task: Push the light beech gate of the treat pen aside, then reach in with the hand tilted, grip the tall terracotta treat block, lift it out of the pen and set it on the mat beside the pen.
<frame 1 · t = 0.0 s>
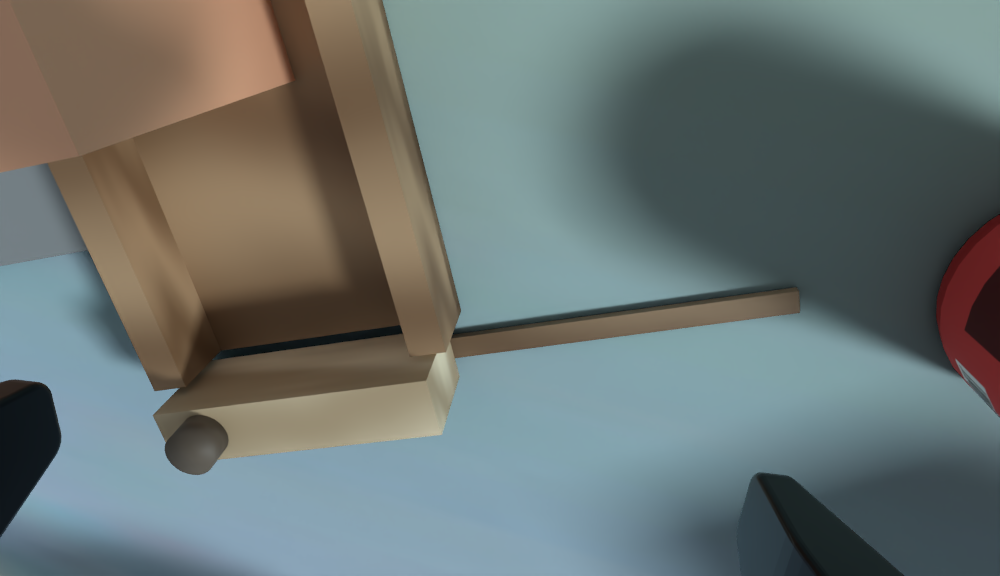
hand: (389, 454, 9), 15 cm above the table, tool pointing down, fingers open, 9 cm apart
treat block: (213, 26, 21), resting on treat pen
treat pen: (253, 122, 22), on the table
gate: (308, 403, 23), point 3 cm above the table, slide at 0.0 cm
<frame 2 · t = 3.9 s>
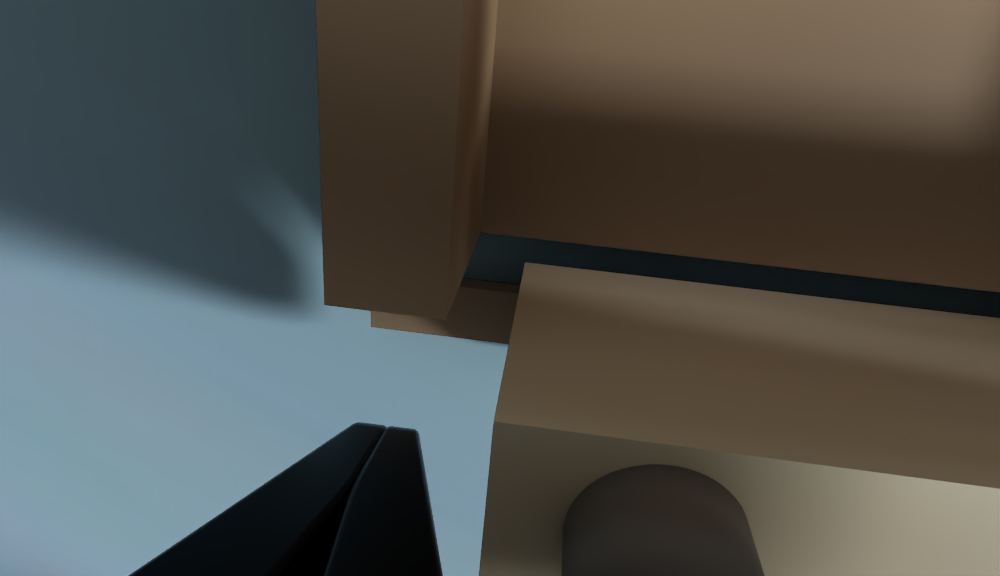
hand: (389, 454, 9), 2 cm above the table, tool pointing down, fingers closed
gate: (960, 491, 7), point 3 cm above the table, slide at 1.3 cm, touching gripper
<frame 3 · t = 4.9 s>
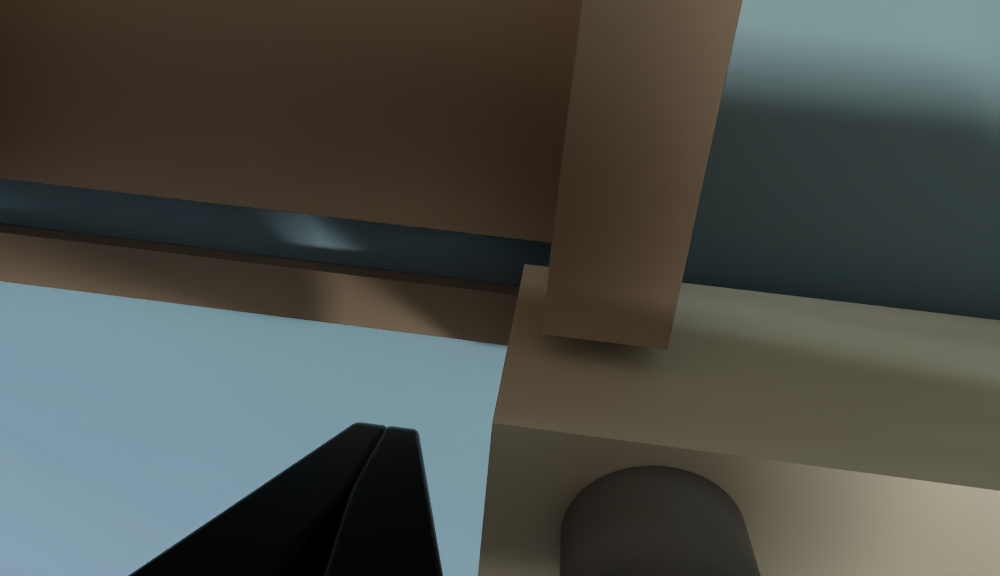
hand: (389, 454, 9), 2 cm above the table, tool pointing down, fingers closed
gate: (956, 492, 7), point 3 cm above the table, slide at 8.4 cm, touching gripper
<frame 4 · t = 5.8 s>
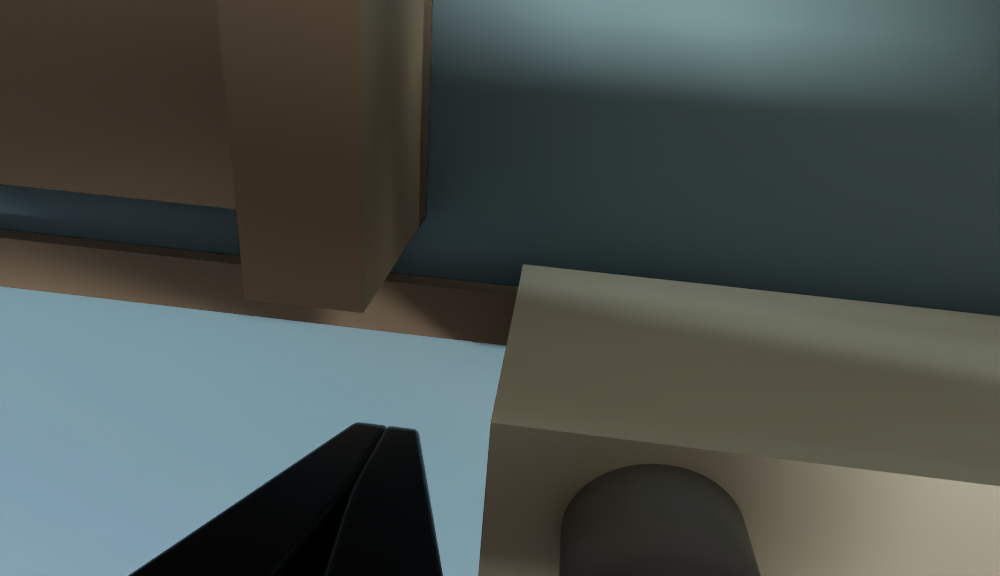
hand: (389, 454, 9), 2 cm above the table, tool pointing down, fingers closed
gate: (957, 488, 7), point 3 cm above the table, slide at 11.3 cm, touching gripper
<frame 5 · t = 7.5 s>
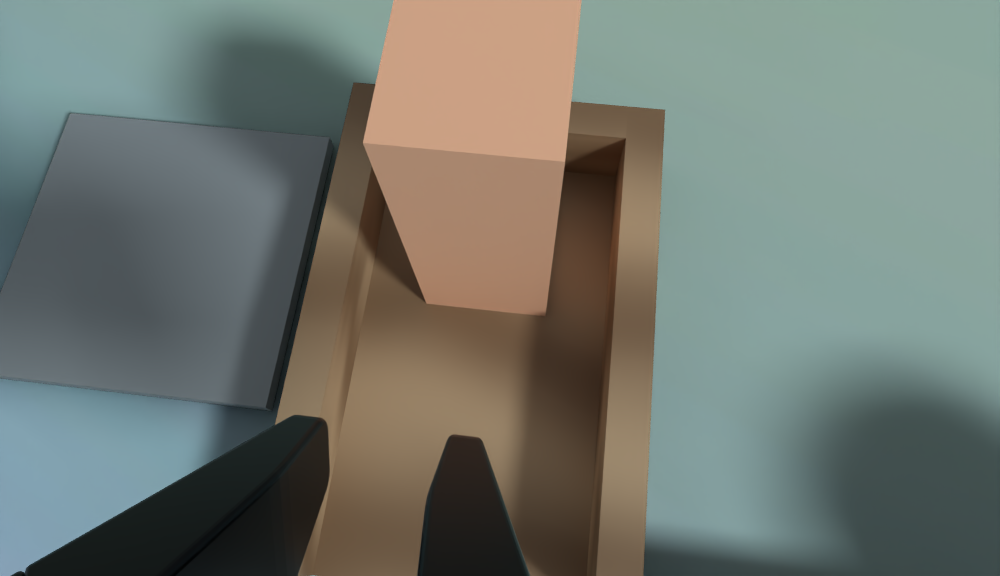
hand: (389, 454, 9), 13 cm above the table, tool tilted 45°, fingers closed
mat: (168, 254, 24), on the table
treat block: (492, 254, 23), resting on treat pen
treat pen: (481, 342, 23), on the table
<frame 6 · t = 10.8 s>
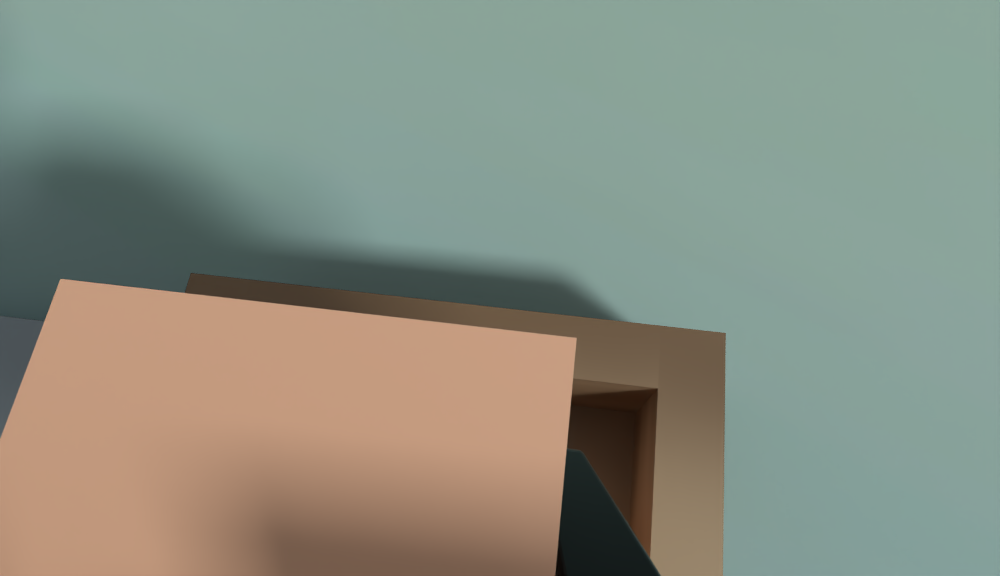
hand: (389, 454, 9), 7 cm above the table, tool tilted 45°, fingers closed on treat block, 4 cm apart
treat block: (429, 560, 14), resting on treat pen, touching gripper
when the fingers open (8 cm above the table, at t = 13.8 s): treat block drops 1 cm, resting on mat.
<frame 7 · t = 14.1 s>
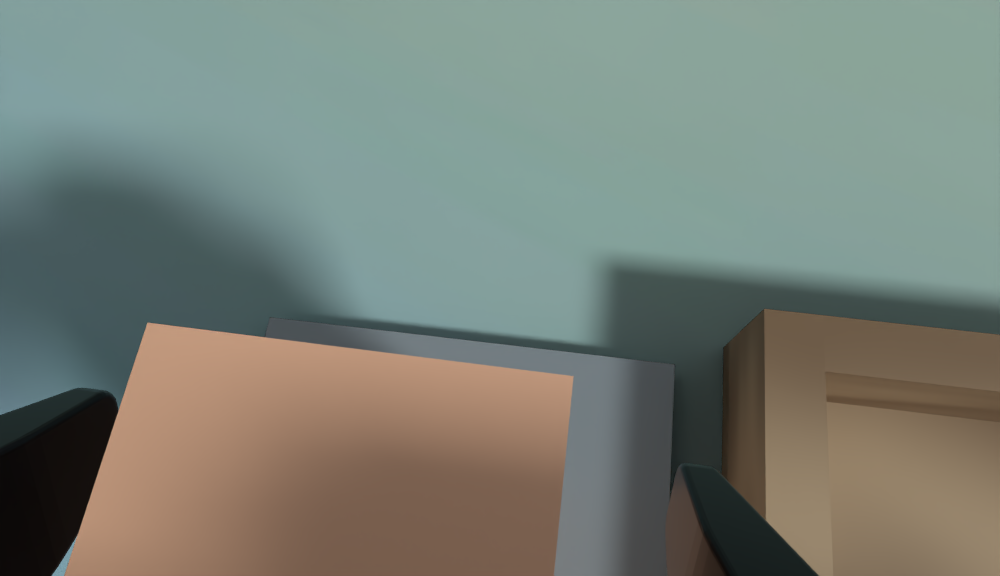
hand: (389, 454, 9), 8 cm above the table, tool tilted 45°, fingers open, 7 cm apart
mat: (438, 558, 15), on the table
treat block: (438, 558, 15), point 1 cm above the table, touching mat
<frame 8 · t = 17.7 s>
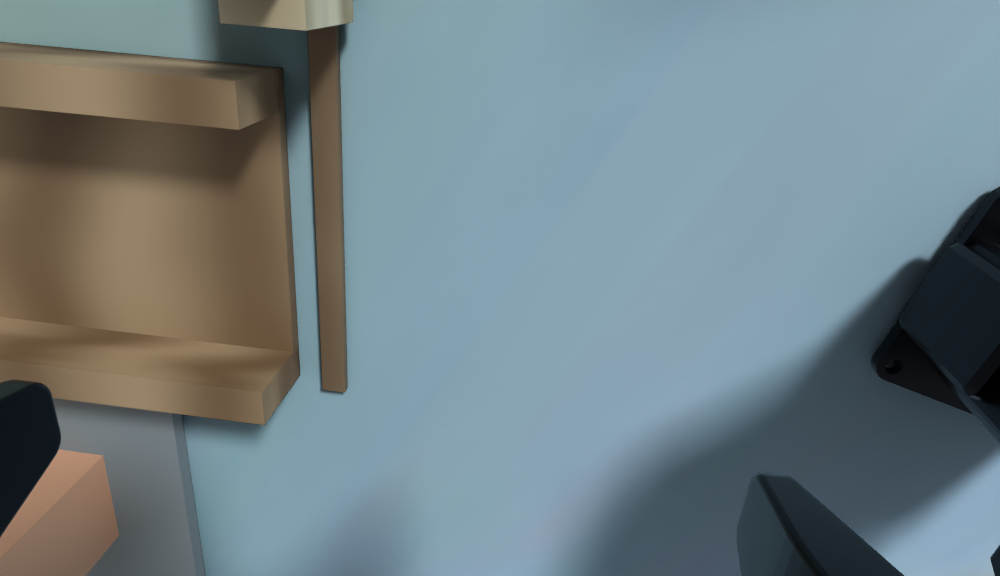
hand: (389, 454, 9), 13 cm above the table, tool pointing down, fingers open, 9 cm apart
mat: (73, 480, 27), on the table
treat block: (62, 489, 27), point 1 cm above the table, touching mat
treat pen: (64, 211, 22), on the table
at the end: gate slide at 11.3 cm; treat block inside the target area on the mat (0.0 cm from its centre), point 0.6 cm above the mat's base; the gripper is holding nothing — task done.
